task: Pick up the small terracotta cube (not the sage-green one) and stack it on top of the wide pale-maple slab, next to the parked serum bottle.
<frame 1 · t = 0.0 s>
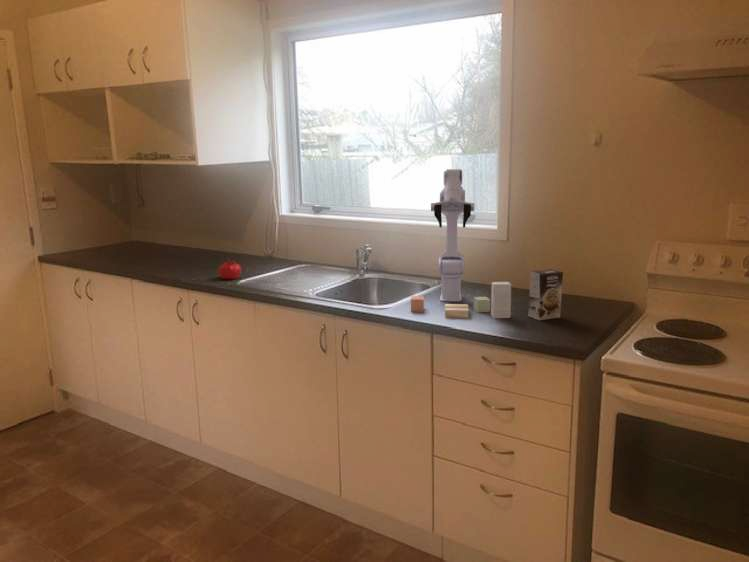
hand: (452, 225, 205), 32 cm above the worktop, tool tilted 50°, fingers open, 7 cm apart
maple slab: (456, 315, 218), on the worktop
coffee box: (544, 317, 214), on the worktop
sage cube: (481, 310, 223), on the worktop
skincare box: (500, 317, 214), on the worktop
terracotta cube: (417, 309, 225), on the worktop
pomegranate: (230, 278, 280), on the worktop
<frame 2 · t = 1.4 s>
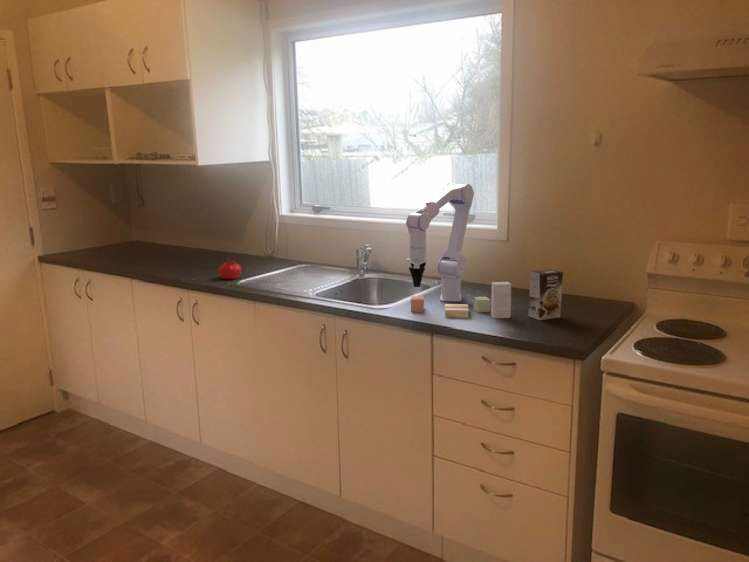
hand: (417, 284, 222), 9 cm above the worktop, tool pointing down, fingers open, 7 cm apart
nothing on the worktop moved.
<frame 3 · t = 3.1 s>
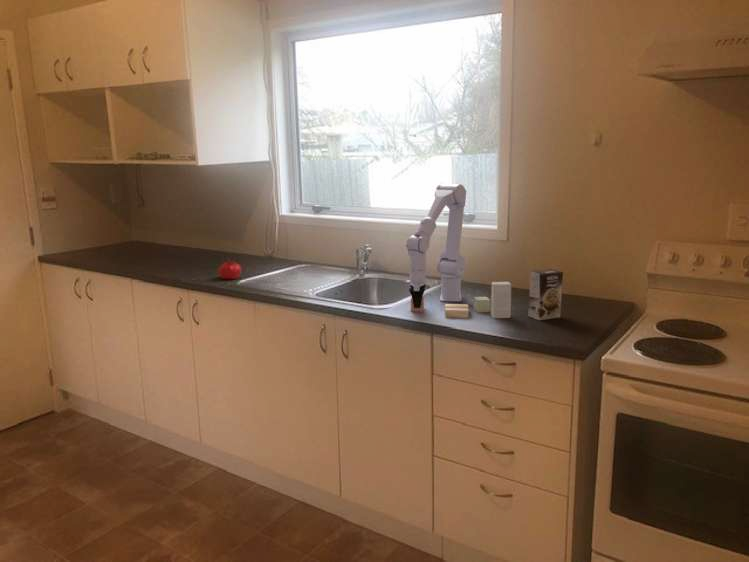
hand: (417, 305, 224), 1 cm above the worktop, tool pointing down, fingers closed on terracotta cube, 4 cm apart
terracotta cube: (417, 309, 225), on the worktop, touching gripper
everything else where it was.
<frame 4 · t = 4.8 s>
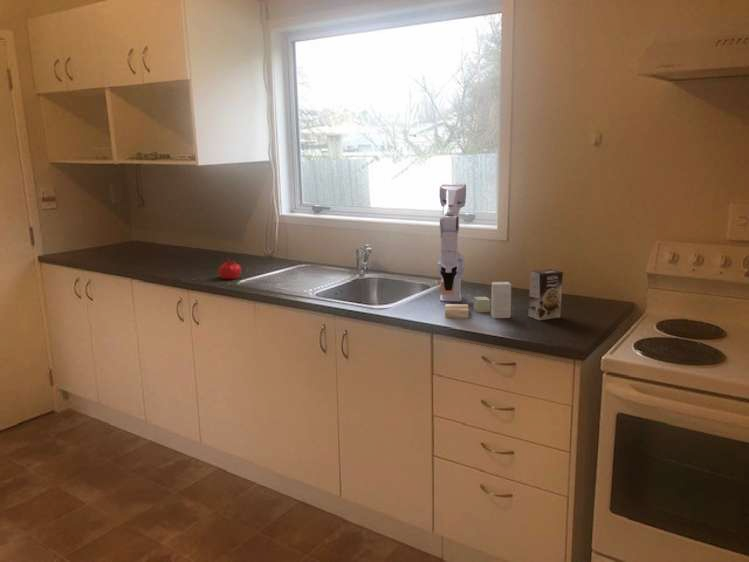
hand: (448, 288, 217), 9 cm above the worktop, tool pointing down, fingers closed on terracotta cube, 4 cm apart
terracotta cube: (447, 293, 218), point 7 cm above the worktop, touching gripper
everything else where it was.
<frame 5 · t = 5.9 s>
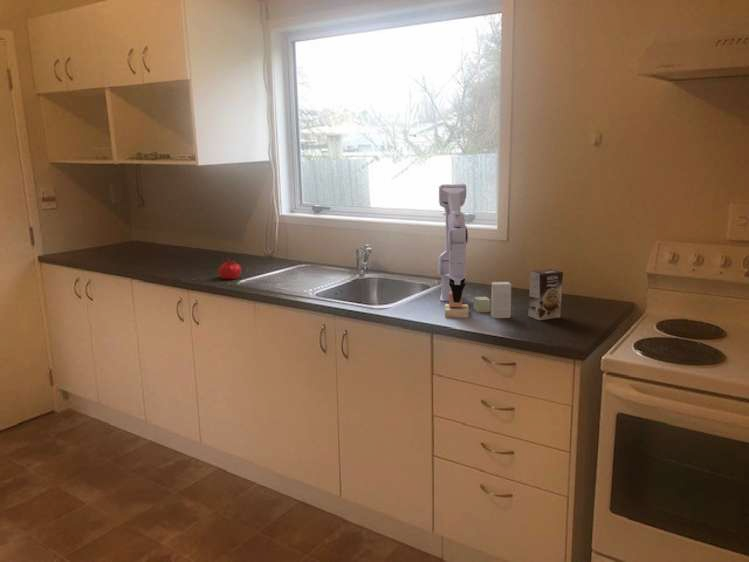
hand: (456, 300, 217), 5 cm above the worktop, tool pointing down, fingers closed on terracotta cube, 4 cm apart
terracotta cube: (455, 304, 217), point 3 cm above the worktop, touching gripper
everything else where it was.
when the fingers open (5 cm above the worktop, at t = 6.6 s): terracotta cube stays where it is, point 3 cm above the worktop.
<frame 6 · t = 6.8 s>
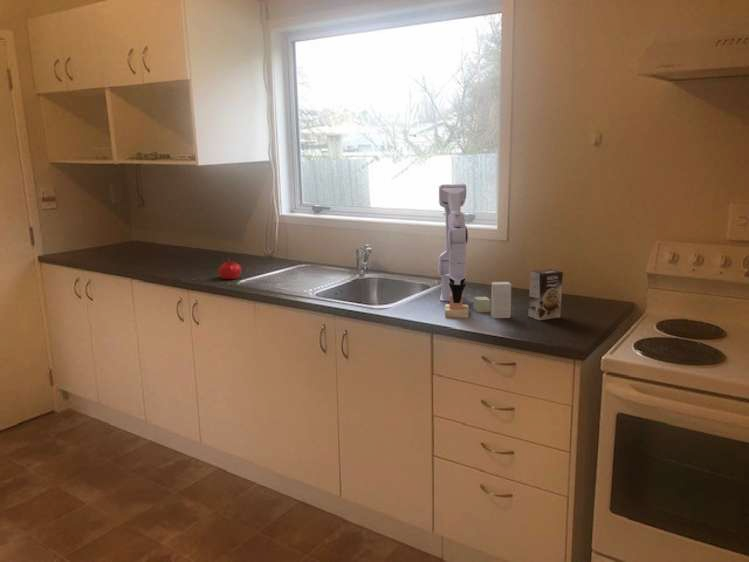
hand: (456, 300, 217), 5 cm above the worktop, tool pointing down, fingers open, 6 cm apart
terracotta cube: (455, 307, 217), point 3 cm above the worktop
everything else where it was.
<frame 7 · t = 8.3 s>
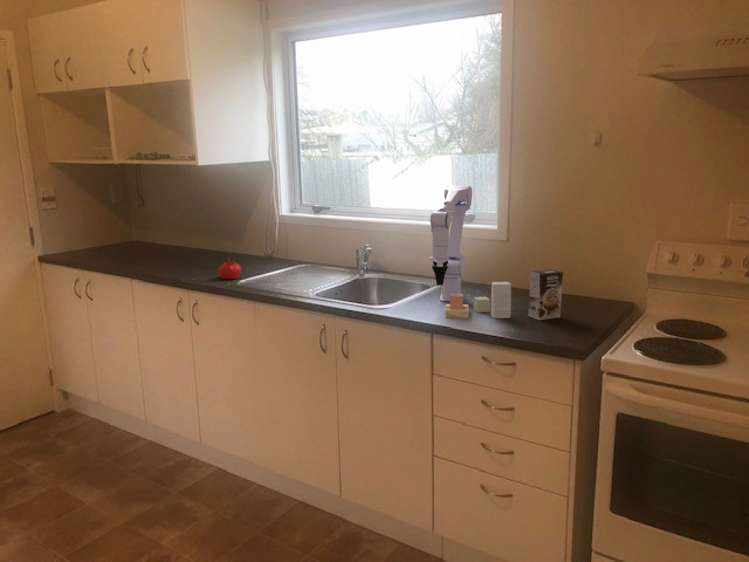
hand: (440, 282, 222), 10 cm above the worktop, tool pointing down, fingers open, 7 cm apart
maple slab: (456, 315, 218), on the worktop, touching terracotta cube
terracotta cube: (456, 307, 217), point 2 cm above the worktop, touching maple slab
everything else where it was.
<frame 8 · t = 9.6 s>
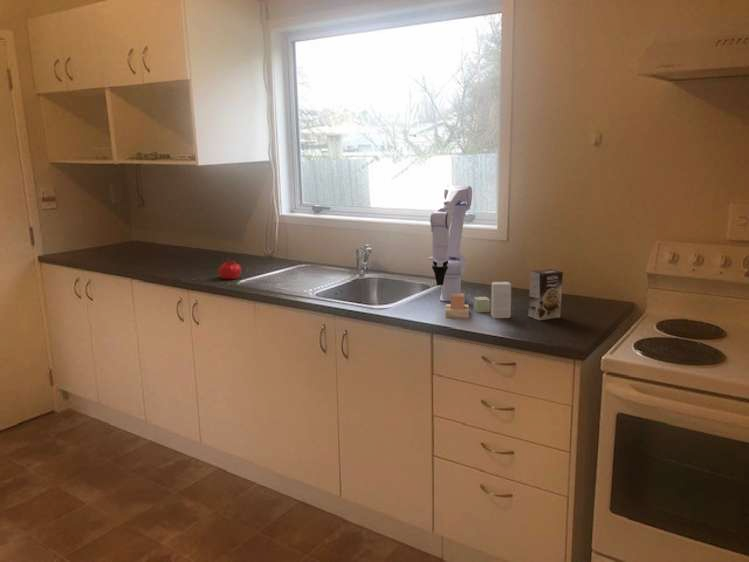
hand: (440, 282, 222), 10 cm above the worktop, tool pointing down, fingers open, 7 cm apart
maple slab: (457, 315, 218), on the worktop
terracotta cube: (457, 307, 217), point 3 cm above the worktop
everything else where it was.
at the end: terracotta cube 0.1 cm off-centre on the maple slab, point 3.0 cm above the maple slab's base; terracotta cube tilted 0°; the gripper is holding nothing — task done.
